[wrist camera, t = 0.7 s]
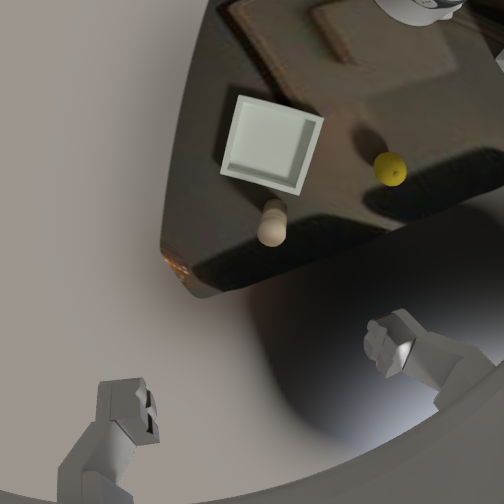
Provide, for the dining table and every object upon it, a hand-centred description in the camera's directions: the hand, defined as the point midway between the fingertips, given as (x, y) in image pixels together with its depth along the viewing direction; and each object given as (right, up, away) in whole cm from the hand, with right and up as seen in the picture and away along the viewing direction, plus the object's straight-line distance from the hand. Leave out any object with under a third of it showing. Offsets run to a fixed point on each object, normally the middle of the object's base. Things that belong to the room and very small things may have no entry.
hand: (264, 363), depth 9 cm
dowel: (+4, +12, +46) cm, 47 cm away
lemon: (+23, +20, +38) cm, 49 cm away
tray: (+3, +22, +39) cm, 45 cm away
